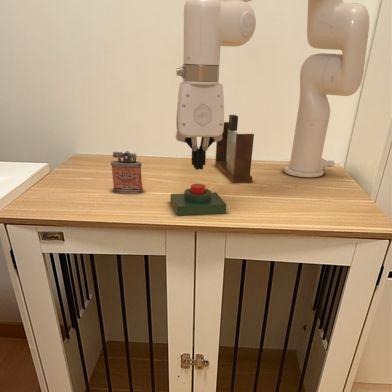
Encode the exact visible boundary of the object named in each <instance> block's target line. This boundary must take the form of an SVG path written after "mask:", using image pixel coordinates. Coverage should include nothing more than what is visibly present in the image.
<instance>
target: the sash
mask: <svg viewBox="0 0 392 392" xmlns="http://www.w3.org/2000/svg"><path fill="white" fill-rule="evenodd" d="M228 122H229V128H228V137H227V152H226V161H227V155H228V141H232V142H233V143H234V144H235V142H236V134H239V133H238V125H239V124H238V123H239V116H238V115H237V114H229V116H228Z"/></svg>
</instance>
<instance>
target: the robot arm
mask: <svg viewBox="0 0 392 392" xmlns="http://www.w3.org/2000/svg"><path fill="white" fill-rule="evenodd" d="M251 1H252V0H185V2H184V6H183V53H182V54H183V57H182V58H183V59H182V60H183V63H182V65H181V66H180V67H176V71H175V72H176V73H175V74H176V76H178V77H181V78H182V81H181V82H179V86H178V92H177V93H178V94H177V104H176V121H175V122H176V123H175V124H176V125H175V126H176V133H175V140H176V141H178V142H181V143H186V144H187V145H188V147H189V148H190V149H191V166H193V168H194V169H195V170H196V171H199V170H201V171H202V170H204V166H205V165H206V157H207V156H206V153H207V151H208V150H209V148H210V147H211V146H212V145H213V143H216V142H217V141H221V140H222V138H223V137H222V133H223V130H224V122H225V99H224V86H223V84H222V83H220V81H219V80H220V64H221V47H232V48H233V47H235V48H236V47H241V46H243V45H245V44H247V43H248V42H249V41H250V40H251V39H252V38H253V36H254V33H255V31H256V26H257V19H256V14H255V11H254V9H253V7H252V6H251V5H250V4H249V2H251ZM306 17H307V19H306V26H307V27H306V39H307V43H308V45H309V46H310V47H311V48H312V49H317V50H330V51H331V50H332V51H333V50H335V51H341V53H340V54H338V53H323V52H320V53H314V54H311V55H309V56H308V57H307V58H305V60H304V61H303V63H302V65H301V68H300V73H299V100H298V108H297V116H296V122H295V129H294V135H293V143H292V147H291V154H290V161H289V165H286V166H284V169H283V171H284V173H285V174H287V175H290V176H293V177H299V178H320V177H322V176H324V173H325V170H324V169H325V168H333V167H334V166H335V163H336V162H335V160H328V159H325V158H323V152H324V147H325V141H326V138H327V137H326V136H327V132H328V126H329V121H330V117H331V107H330V102H329V99H328V95H329V96H339V97H349V96H353V95H354V94H355V93H357V91H358V90H359V89H360V87H361V84H362V81H363V78H364V77H363V76H364V71H365V64H366V56H367V48H368V42H369V41H368V40H369V33H370V14H369V10H368V8H367V7H366V5H364V4H362V3H359V2H350V3H347V2H346V3H345V2H344V0H307V16H306ZM197 138H200V142H199V143H200V144H199V146H198V139H197Z"/></svg>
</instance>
